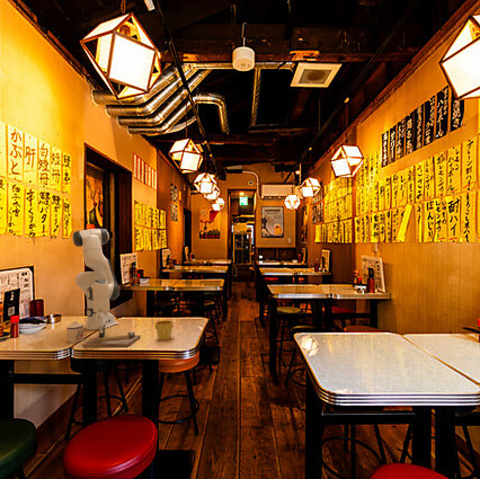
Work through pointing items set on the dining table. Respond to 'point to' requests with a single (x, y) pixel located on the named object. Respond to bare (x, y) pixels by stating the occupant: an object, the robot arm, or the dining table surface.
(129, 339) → the lever board
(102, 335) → the lever
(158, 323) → the plant pot
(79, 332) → the teacup with lid
